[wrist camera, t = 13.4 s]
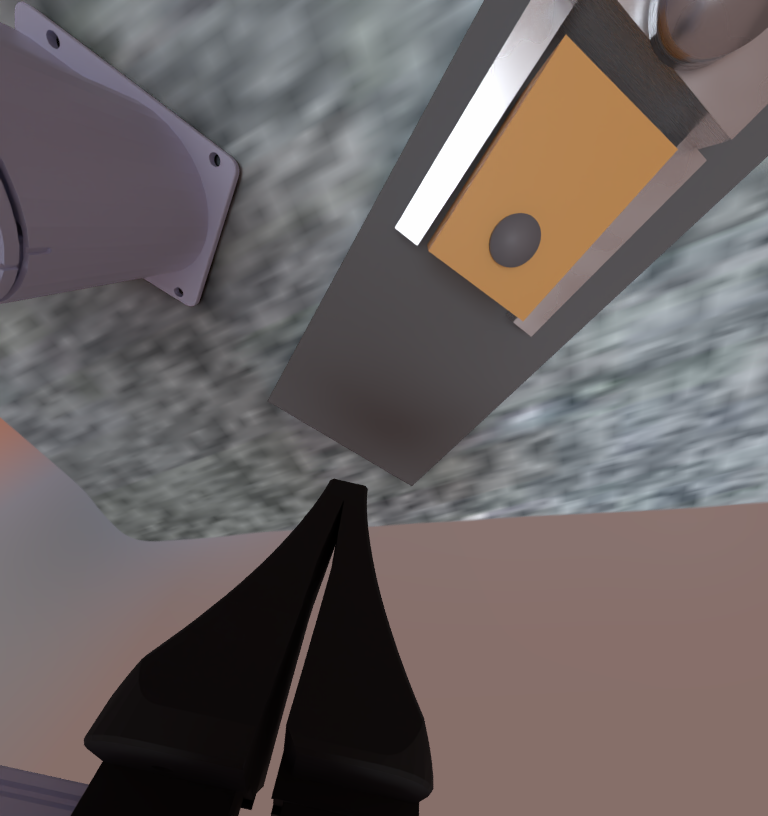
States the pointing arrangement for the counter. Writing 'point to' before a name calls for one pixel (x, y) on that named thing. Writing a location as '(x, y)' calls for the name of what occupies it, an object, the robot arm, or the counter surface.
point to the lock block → (549, 182)
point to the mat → (456, 293)
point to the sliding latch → (642, 84)
